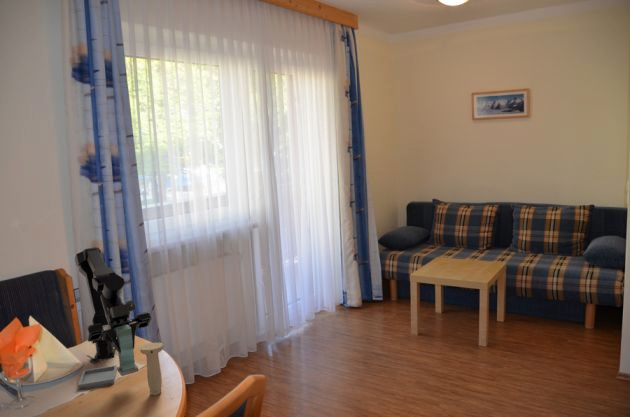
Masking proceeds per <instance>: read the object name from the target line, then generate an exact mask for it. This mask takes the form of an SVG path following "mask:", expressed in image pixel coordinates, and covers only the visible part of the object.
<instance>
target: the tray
mask: <svg viewBox="0 0 630 417" xmlns="http://www.w3.org/2000/svg"><path fill="white" fill-rule="evenodd" d="M117 367H118V365H117V364H116V365H110V366H102V367H97V368H90V369H84V370H83V371H82V373H81V376H80V379H79V382H78V384H77V385H78V390H79V389H80V390H86V389H91V388H97V387H103V386H109V385H114V384H115V381H116V377H117V372H118V371H117Z"/></svg>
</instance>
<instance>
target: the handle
mask: <svg viewBox="0 0 630 417" xmlns="http://www.w3.org/2000/svg"><path fill="white" fill-rule="evenodd" d="M163 349H164V346H163V343H162V342H150V343H145V344H142V345H141V346H140V347H139V351H140V353H141V354H142V355H144V356H145V357H146V374H147V375H146V376H147V383H148V388H149V392H150V393H149V394H150V395H151V396H158V395H160V394H162V386H163V385H162V383H163V382H162V380H163V377H162V372H161V366H160V358H159V353H160V352H162V351H163Z"/></svg>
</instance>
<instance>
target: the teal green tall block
mask: <svg viewBox="0 0 630 417" xmlns="http://www.w3.org/2000/svg"><path fill="white" fill-rule="evenodd" d="M116 335H117V337H116V338H117V341H118V343H119V346H120V349H121V353H119V352H118V351H117V354H118V363H119V365H117V372H118V373H119V375H120V376H121V377H124V376H125V377H126V376H127V375H132V374H133V373H137V372H139V367H138V365H137V364H136V362H135V352H134V349H133V341H132V331H131V327H130V326H129V325H124V326H120V327H116Z"/></svg>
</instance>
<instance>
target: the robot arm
mask: <svg viewBox="0 0 630 417" xmlns="http://www.w3.org/2000/svg"><path fill="white" fill-rule="evenodd" d="M74 263H75V266H76V267H77V268H78V271H79V273H80V274H82V275H83V277H85V281H86V287H87V290H88V296H89V299H90V300H89V301H90V304H91V309H92V313H93V317H92V319H91V322H90V325H88V326H87V329H86V333H85V334H86V335H85V336H86V340H87V342H91V344H95V351H96V352H95V355H94V360H95V361H96V360H101V359H102V360H103V359H108V358H109V359H110V358H115V354H116V352H117V353H118V352H119V353H121V349H120V346H119V343H118V341H117V335H116V327H120V326H124V325H129V326H130V327H131V331H132V341H133V350H135V344H136V342H135V339H136V333H137V332H138V331H139V329H144V328H147V327H149V326H150V323H151V321H152V316H151V313H150V312H148V311H144V312H140V313H136V316H135V318H133V319H129V318H130V314H131V312H134V311H136V306H135V302H134V300H133V299H131V300H128V301H126V302H125V304H124V303H123V301H122V297H121V296H122V294H123V290H124V288H125V287H124V286H125V283H126V282H125V279H124V278H123V277H122V276H120V275H119V274H118V273H117V272H116V271H115V270H114V269H113V267H109V266H107V264H106V261H105V260H104V259H103V254H102V250H101V249H100V247H97V246H94V247H88V248H85V249H83V250H82V251H80V252H78V253H76V254H75V257H74Z"/></svg>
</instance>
